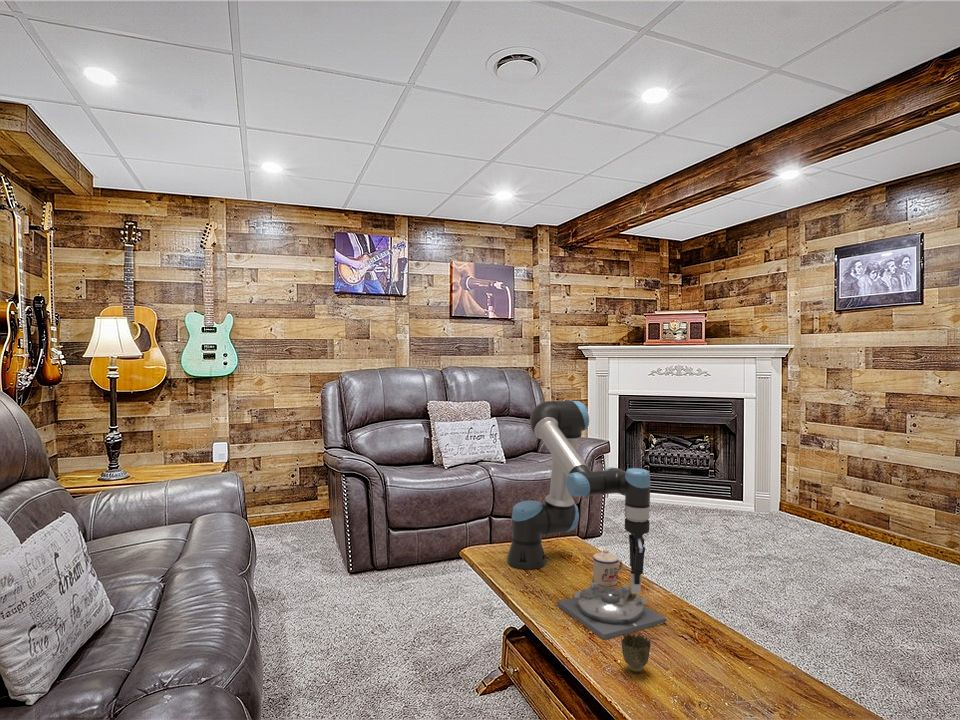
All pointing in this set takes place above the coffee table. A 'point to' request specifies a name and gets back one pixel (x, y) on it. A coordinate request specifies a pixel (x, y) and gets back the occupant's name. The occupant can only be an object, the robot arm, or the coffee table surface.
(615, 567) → the teacup with lid
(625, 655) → the cup
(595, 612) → the grey metal round disc
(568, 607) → the plate
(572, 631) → the coffee table surface
